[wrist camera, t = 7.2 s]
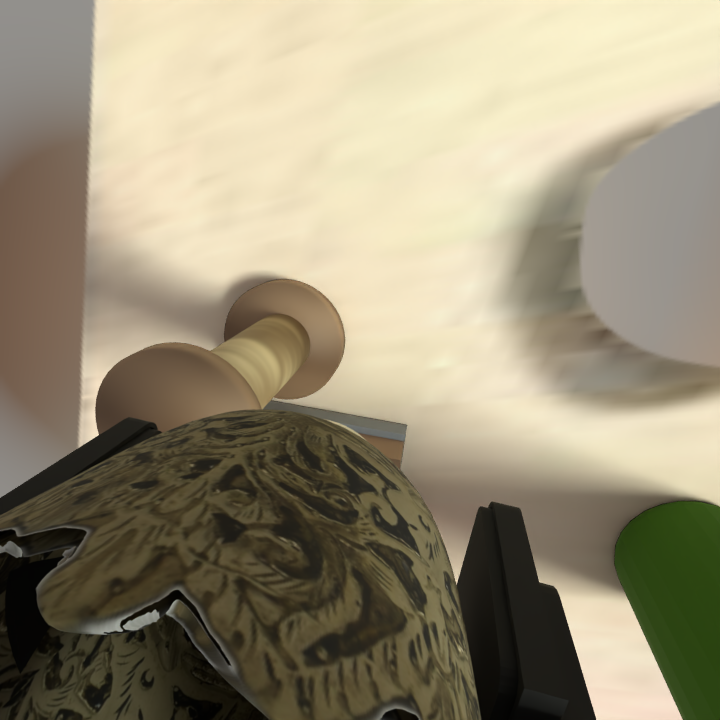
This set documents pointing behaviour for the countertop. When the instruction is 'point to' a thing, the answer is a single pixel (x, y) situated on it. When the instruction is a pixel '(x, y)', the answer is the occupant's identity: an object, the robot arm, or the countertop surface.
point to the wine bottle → (678, 597)
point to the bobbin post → (231, 362)
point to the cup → (238, 583)
